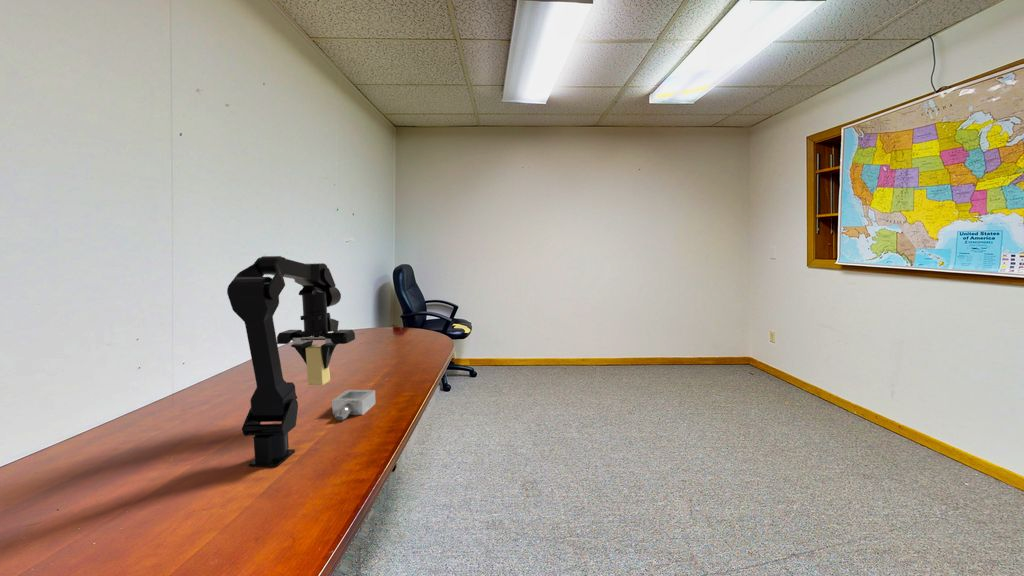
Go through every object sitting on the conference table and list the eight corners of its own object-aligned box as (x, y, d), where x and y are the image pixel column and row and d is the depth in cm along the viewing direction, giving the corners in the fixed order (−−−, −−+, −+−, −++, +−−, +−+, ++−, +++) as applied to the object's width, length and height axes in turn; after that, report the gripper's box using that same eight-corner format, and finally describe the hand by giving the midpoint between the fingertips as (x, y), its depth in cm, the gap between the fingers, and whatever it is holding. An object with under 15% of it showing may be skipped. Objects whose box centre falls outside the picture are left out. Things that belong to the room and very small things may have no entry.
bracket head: (356, 421, 105) (355, 406, 105) (324, 420, 106) (324, 405, 106) (381, 398, 122) (380, 385, 122) (353, 398, 122) (353, 385, 122)
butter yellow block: (322, 385, 106) (320, 348, 105) (307, 385, 107) (305, 348, 106) (330, 380, 110) (328, 344, 109) (315, 380, 111) (313, 344, 110)
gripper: (362, 306, 114) (364, 360, 116) (298, 306, 115) (301, 360, 117) (344, 312, 103) (347, 371, 105) (273, 312, 104) (277, 371, 106)
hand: (318, 368), depth 108 cm, fingers closed on butter yellow block, 4 cm apart
